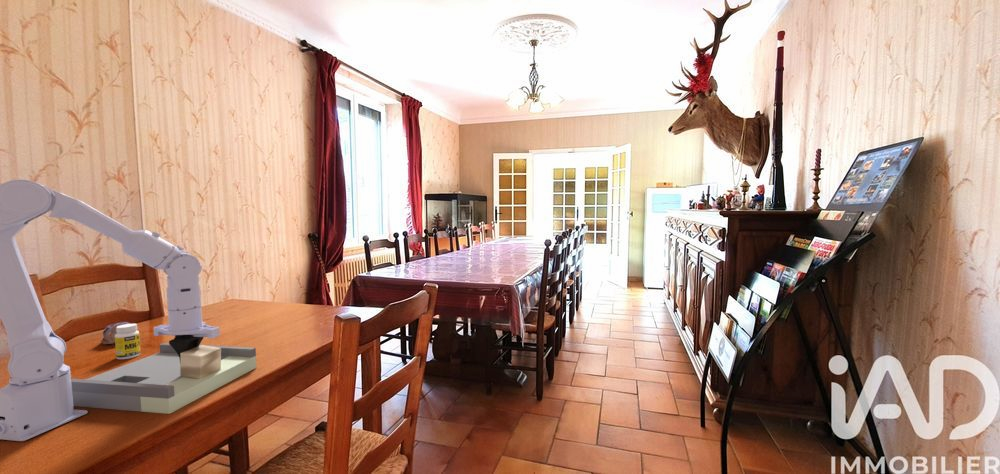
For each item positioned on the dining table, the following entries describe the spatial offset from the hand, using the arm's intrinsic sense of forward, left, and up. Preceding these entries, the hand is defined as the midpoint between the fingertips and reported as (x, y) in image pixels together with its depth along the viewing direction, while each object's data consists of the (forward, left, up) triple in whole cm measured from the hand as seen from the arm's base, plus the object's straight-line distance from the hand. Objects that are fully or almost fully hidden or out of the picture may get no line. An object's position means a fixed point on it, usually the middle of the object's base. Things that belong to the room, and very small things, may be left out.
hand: (189, 368), depth 87 cm
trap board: (0, +6, -4) cm, 7 cm away
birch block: (0, -3, -1) cm, 3 cm away
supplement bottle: (+13, +32, -4) cm, 35 cm away
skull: (+24, +49, -4) cm, 55 cm away
